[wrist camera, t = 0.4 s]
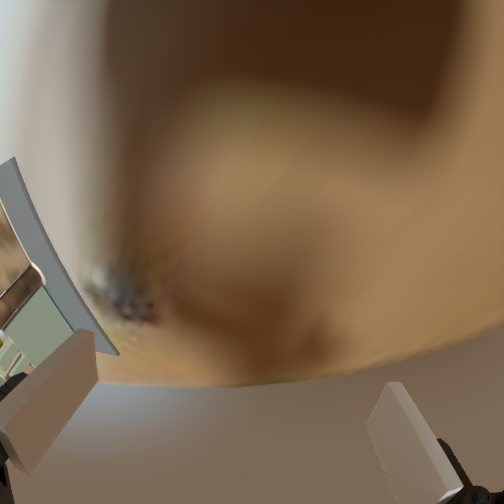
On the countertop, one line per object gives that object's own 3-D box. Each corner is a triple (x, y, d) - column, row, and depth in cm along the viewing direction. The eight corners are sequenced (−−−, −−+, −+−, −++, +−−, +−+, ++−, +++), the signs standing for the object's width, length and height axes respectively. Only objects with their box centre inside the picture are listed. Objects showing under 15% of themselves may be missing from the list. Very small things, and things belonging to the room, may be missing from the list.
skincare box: (13, 340, 64) (-8, 369, 54) (10, 333, 61) (-12, 364, 51) (28, 353, 64) (7, 383, 55) (26, 347, 62) (4, 378, 52)
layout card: (-41, 194, 33) (-43, 196, 33) (14, 156, 26) (10, 158, 25) (37, 332, 51) (36, 334, 51) (119, 353, 44) (117, 356, 44)
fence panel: (36, 285, 38) (-19, 353, 26) (44, 285, 37) (-13, 357, 25) (78, 344, 45) (37, 409, 33) (86, 346, 45) (45, 414, 33)
